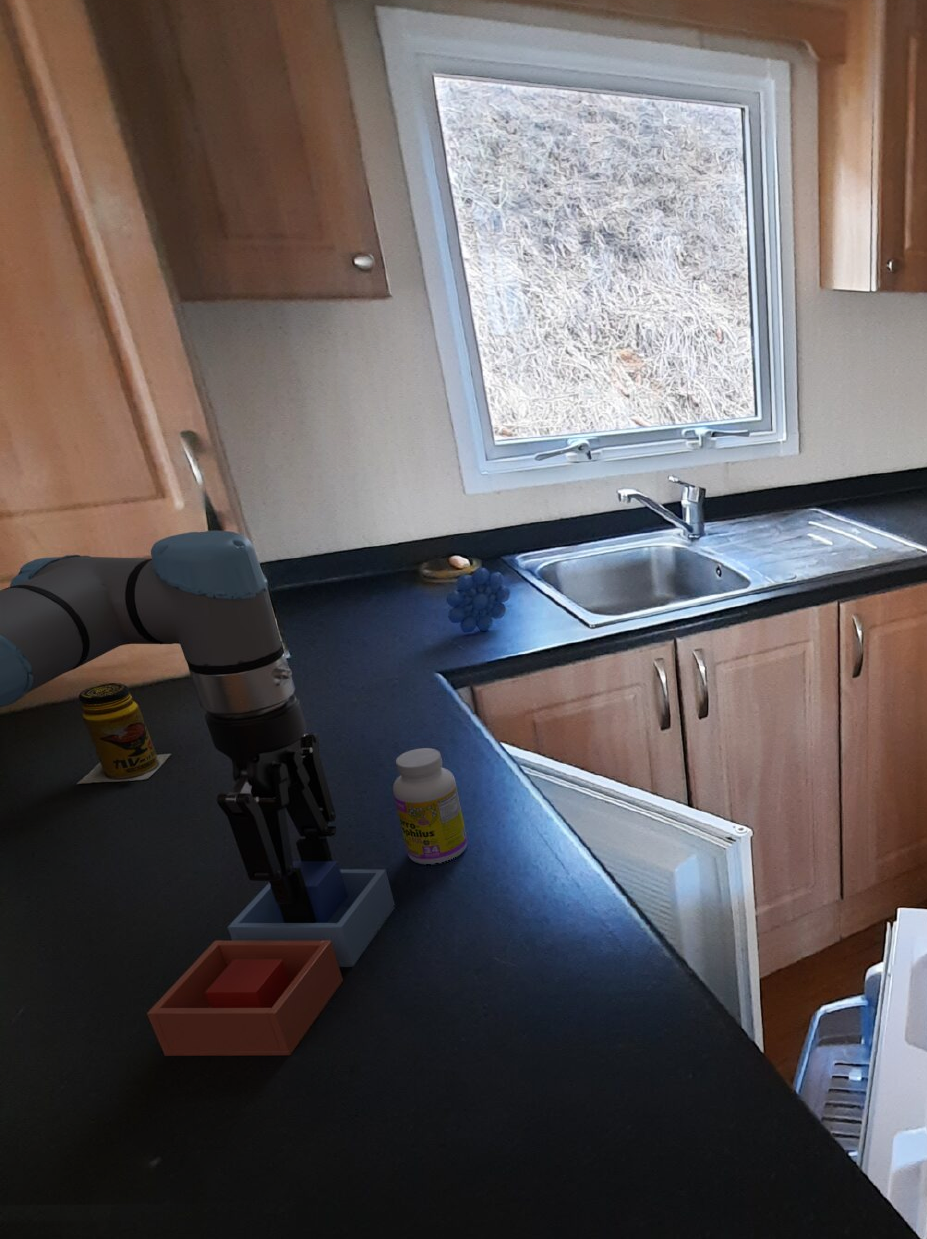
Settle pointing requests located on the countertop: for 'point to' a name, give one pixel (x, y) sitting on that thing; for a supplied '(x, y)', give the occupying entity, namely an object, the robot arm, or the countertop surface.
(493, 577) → the blue sphere cluster
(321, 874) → the blue block
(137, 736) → the condiment
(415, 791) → the supplement bottle
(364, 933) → the blue bin
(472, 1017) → the countertop surface
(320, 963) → the red bin
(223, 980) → the red block
